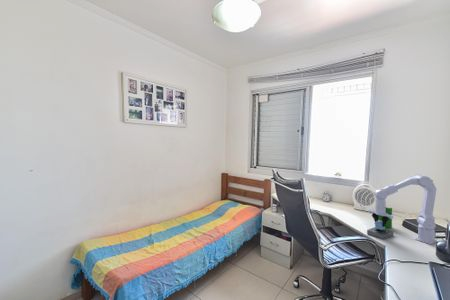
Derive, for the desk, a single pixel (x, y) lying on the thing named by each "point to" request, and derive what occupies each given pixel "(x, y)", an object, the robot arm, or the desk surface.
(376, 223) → the servo
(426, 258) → the desk surface
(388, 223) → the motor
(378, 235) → the chassis
